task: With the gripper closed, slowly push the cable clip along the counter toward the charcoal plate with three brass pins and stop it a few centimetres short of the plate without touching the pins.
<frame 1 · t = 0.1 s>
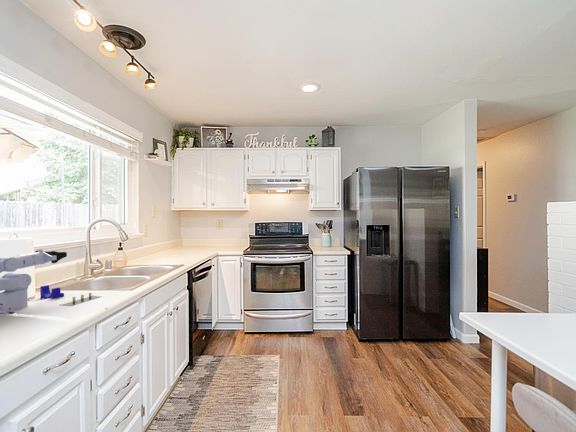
hand: (60, 253, 149), 22 cm above the worktop, tool horizontal, fingers open, 7 cm apart
header plate: (81, 303, 140), on the worktop
cable clip: (52, 299, 149), on the worktop
header pins: (82, 300, 140), resting on header plate
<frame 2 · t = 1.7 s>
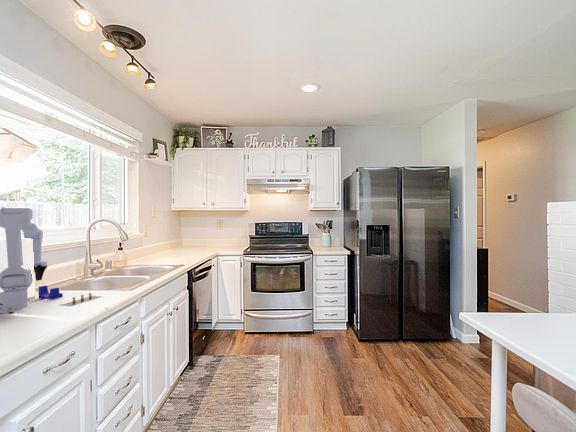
hand: (34, 280, 152), 8 cm above the worktop, tool pointing down, fingers open, 6 cm apart
nothing on the worktop moved.
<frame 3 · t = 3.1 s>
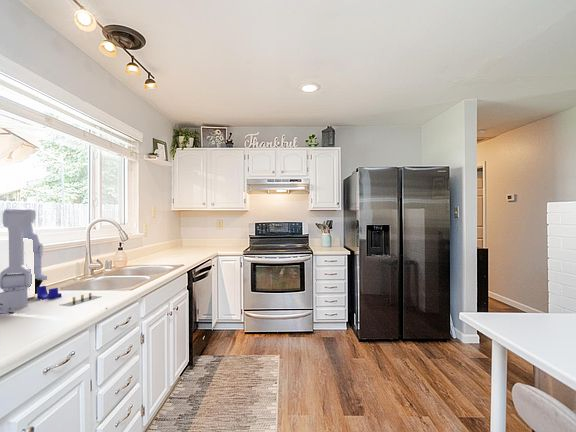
hand: (34, 294, 152), 1 cm above the worktop, tool pointing down, fingers closed
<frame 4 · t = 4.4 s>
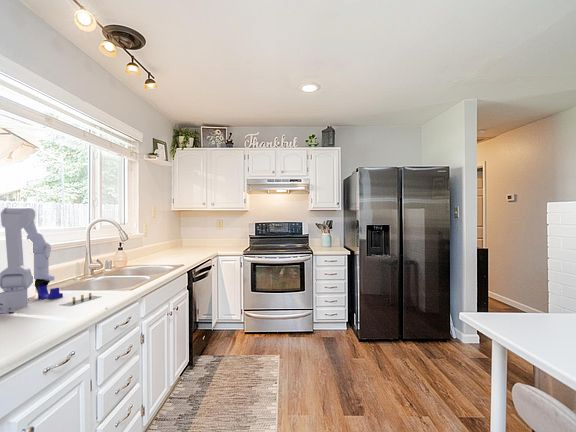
hand: (41, 294, 151), 1 cm above the worktop, tool pointing down, fingers closed
cable clip: (50, 299, 147), on the worktop, touching gripper
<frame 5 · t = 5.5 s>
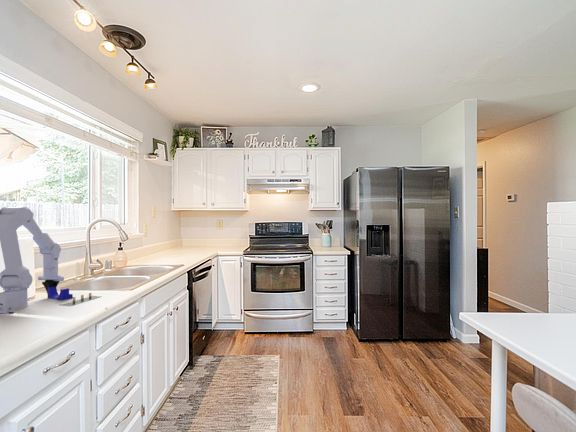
hand: (51, 295, 149), 1 cm above the worktop, tool pointing down, fingers closed
cable clip: (60, 300, 146), on the worktop, touching gripper
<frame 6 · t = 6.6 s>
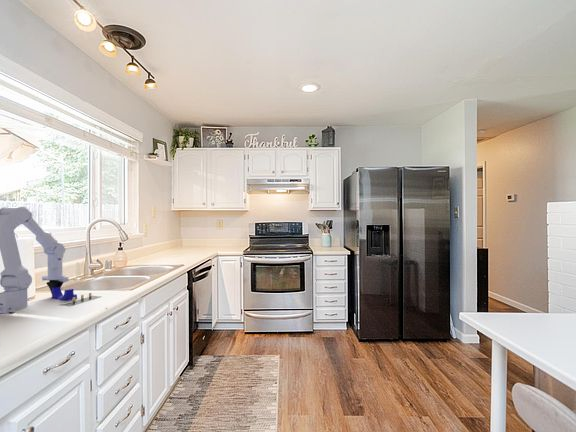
hand: (55, 295, 149), 1 cm above the worktop, tool pointing down, fingers closed
cable clip: (64, 301, 145), on the worktop, touching gripper
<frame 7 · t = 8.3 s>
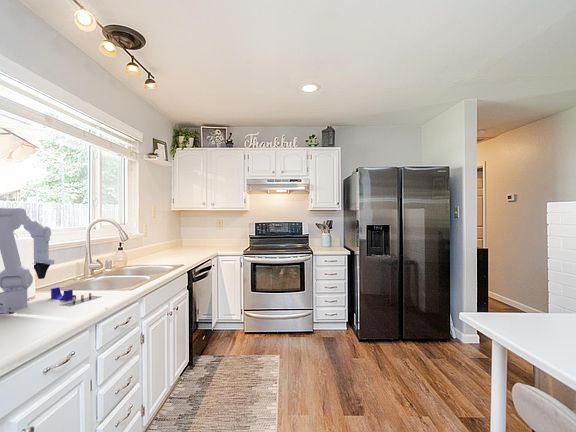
hand: (41, 278, 150), 10 cm above the worktop, tool pointing down, fingers closed
cable clip: (63, 301, 144), on the worktop
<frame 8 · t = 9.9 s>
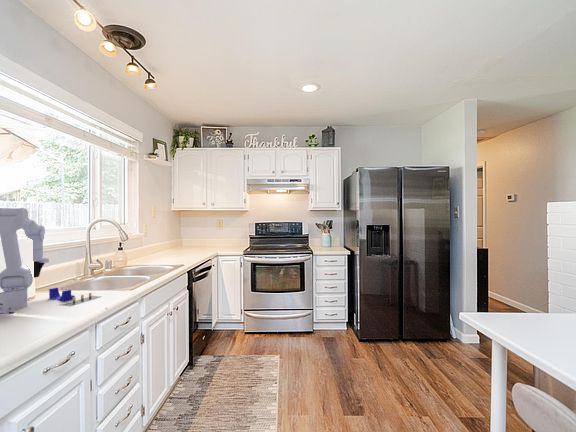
hand: (35, 277, 149), 10 cm above the worktop, tool pointing down, fingers closed
nothing on the worktop moved.
at the end: cable clip inside the target area (2.8 cm from its centre), on the worktop; cable clip moved 10.2 cm from its start; cable clip touching worktop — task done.
